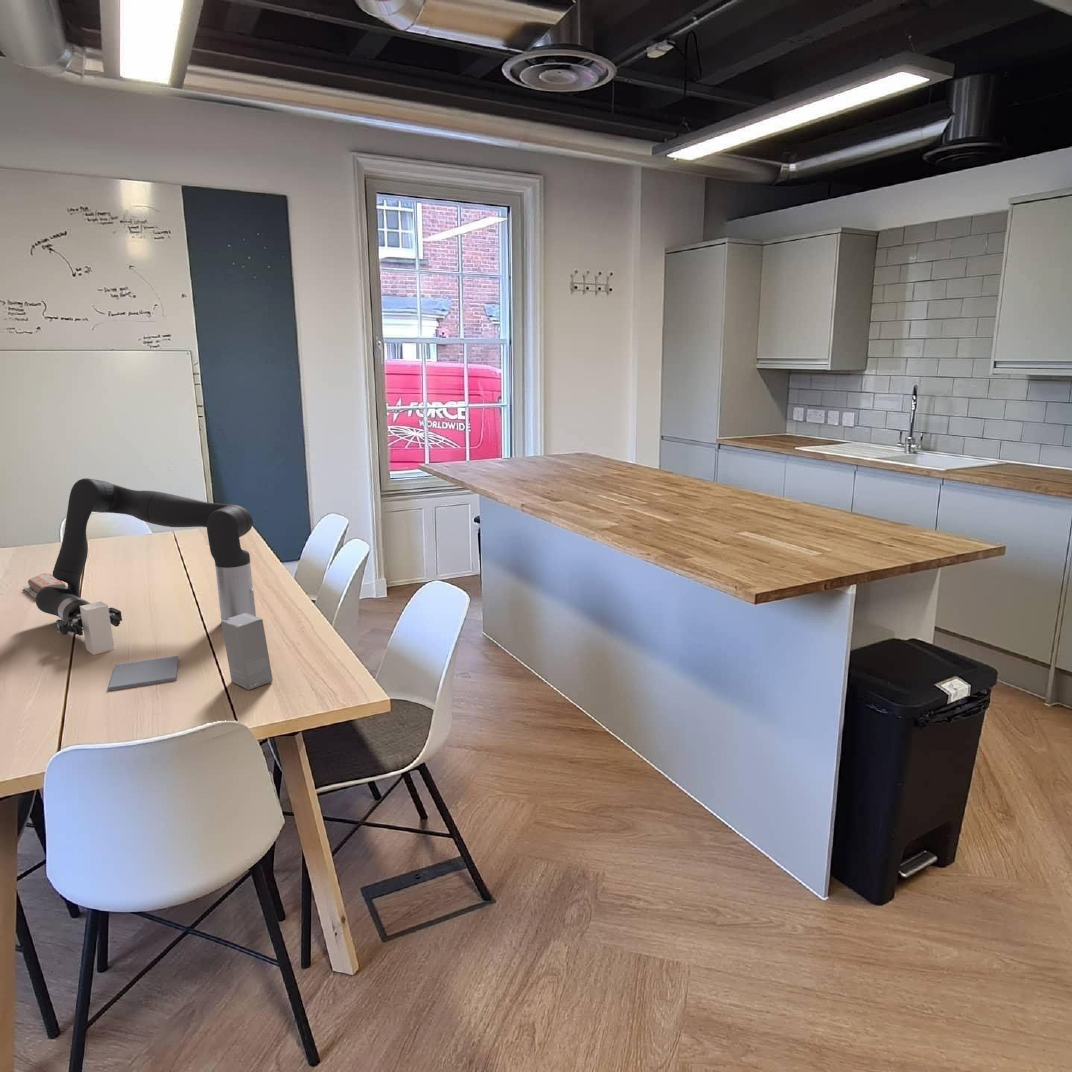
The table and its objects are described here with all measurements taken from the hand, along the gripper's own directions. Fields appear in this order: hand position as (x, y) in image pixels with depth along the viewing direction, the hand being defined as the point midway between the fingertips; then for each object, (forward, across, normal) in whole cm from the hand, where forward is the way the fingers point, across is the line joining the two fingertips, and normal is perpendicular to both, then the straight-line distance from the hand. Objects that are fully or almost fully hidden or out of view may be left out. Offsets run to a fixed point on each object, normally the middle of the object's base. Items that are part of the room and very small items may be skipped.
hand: (99, 627), depth 195 cm
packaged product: (-68, +7, +7) cm, 69 cm away
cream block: (-2, 0, +7) cm, 7 cm away
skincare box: (+46, +16, +7) cm, 50 cm away
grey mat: (+23, +2, +7) cm, 24 cm away
